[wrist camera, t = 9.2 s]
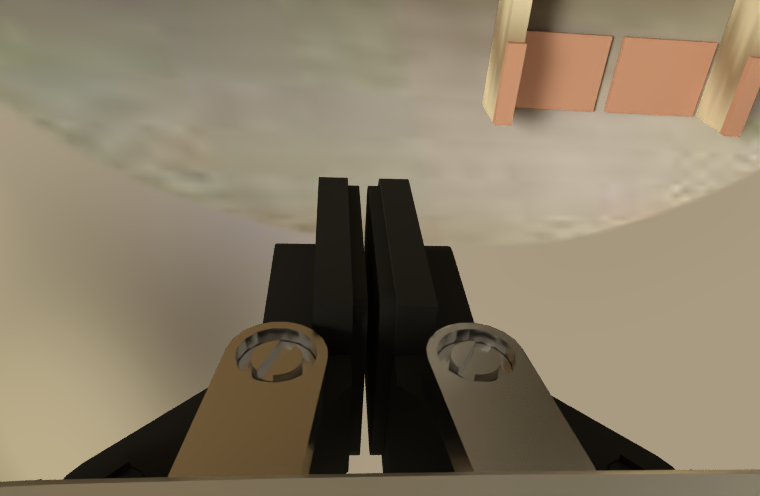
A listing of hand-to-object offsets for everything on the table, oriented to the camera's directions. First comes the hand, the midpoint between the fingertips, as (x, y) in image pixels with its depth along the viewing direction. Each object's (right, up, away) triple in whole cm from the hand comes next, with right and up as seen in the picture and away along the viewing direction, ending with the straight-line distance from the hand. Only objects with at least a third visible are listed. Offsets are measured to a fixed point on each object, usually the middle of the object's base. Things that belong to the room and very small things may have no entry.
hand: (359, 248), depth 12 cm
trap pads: (+14, +11, +26) cm, 32 cm away
